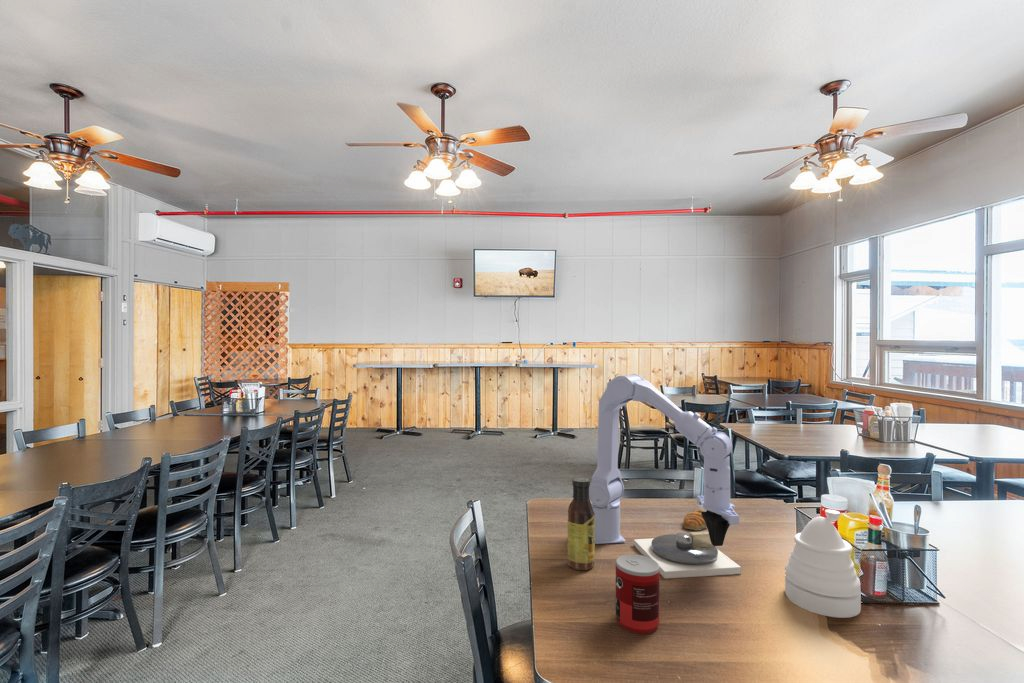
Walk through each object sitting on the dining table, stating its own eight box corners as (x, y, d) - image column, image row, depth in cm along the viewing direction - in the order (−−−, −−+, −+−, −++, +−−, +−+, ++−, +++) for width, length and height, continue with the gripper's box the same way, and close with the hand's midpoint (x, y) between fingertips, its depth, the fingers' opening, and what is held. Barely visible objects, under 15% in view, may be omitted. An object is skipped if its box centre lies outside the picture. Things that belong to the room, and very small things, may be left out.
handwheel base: (664, 578, 108) (664, 570, 108) (633, 545, 126) (633, 538, 126) (741, 573, 110) (741, 566, 110) (700, 541, 128) (700, 535, 128)
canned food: (626, 606, 96) (626, 550, 96) (666, 621, 91) (666, 561, 91) (607, 623, 90) (607, 563, 90) (649, 640, 85) (649, 576, 85)
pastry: (701, 534, 133) (701, 520, 133) (677, 528, 138) (677, 515, 138) (712, 524, 141) (712, 511, 141) (689, 519, 145) (689, 506, 145)
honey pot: (845, 589, 103) (845, 503, 103) (872, 622, 91) (872, 525, 91) (778, 581, 107) (778, 498, 107) (795, 612, 94) (795, 518, 95)
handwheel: (668, 566, 109) (668, 548, 109) (641, 539, 124) (641, 523, 124) (730, 562, 111) (730, 545, 111) (697, 536, 126) (697, 521, 126)
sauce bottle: (594, 573, 110) (594, 484, 110) (566, 570, 111) (566, 482, 112) (595, 560, 117) (595, 476, 117) (568, 558, 118) (569, 475, 118)
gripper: (752, 494, 107) (752, 557, 107) (715, 477, 121) (716, 532, 121) (721, 495, 106) (722, 559, 106) (689, 478, 120) (689, 533, 120)
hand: (717, 544), depth 114 cm, fingers closed
